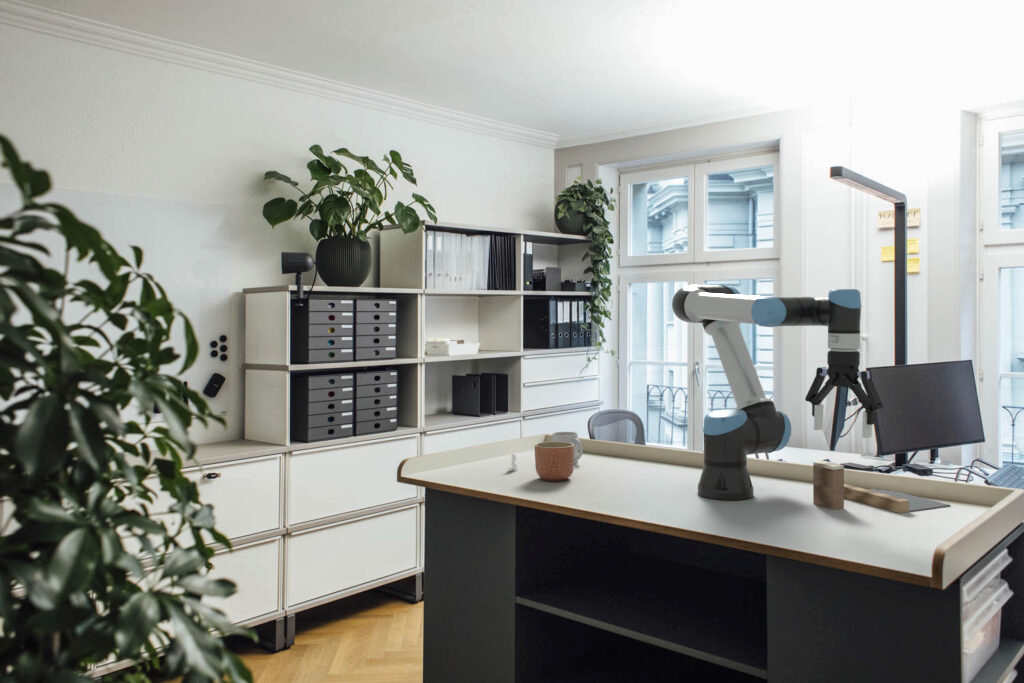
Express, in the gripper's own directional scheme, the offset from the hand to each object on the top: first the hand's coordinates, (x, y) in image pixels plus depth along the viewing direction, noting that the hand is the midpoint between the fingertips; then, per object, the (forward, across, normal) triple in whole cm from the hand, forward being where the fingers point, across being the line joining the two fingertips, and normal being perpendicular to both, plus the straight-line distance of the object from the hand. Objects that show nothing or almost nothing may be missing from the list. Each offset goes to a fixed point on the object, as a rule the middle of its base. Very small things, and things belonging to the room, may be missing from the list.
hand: (842, 433), depth 193 cm
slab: (+20, -5, +2) cm, 21 cm away
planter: (+22, -74, -37) cm, 86 cm away
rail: (+20, 0, +13) cm, 24 cm away
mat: (+20, +1, +22) cm, 30 cm away
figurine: (+23, -93, -40) cm, 104 cm away
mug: (+22, -94, -18) cm, 98 cm away
